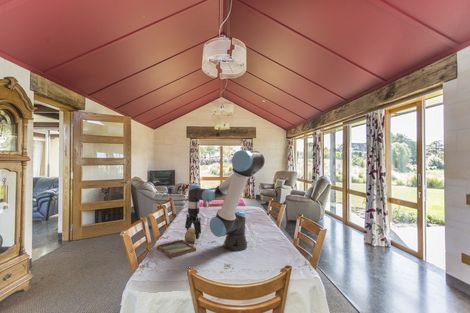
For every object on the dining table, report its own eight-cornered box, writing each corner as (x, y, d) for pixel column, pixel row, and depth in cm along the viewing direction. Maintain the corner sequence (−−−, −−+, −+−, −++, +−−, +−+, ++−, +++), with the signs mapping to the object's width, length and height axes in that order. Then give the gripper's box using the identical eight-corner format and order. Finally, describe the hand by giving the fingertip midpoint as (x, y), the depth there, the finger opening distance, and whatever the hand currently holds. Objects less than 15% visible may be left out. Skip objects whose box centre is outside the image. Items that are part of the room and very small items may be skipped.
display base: (196, 251, 144) (196, 247, 144) (170, 258, 133) (170, 254, 133) (181, 242, 157) (182, 239, 157) (157, 248, 145) (157, 245, 145)
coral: (189, 228, 167) (200, 224, 163) (192, 242, 164) (204, 239, 160) (180, 230, 159) (191, 226, 155) (183, 245, 156) (195, 242, 152)
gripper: (207, 209, 154) (206, 244, 154) (190, 204, 170) (188, 235, 170) (197, 211, 149) (196, 247, 149) (180, 205, 165) (179, 237, 165)
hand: (192, 241), depth 159 cm, fingers closed on coral, 9 cm apart
